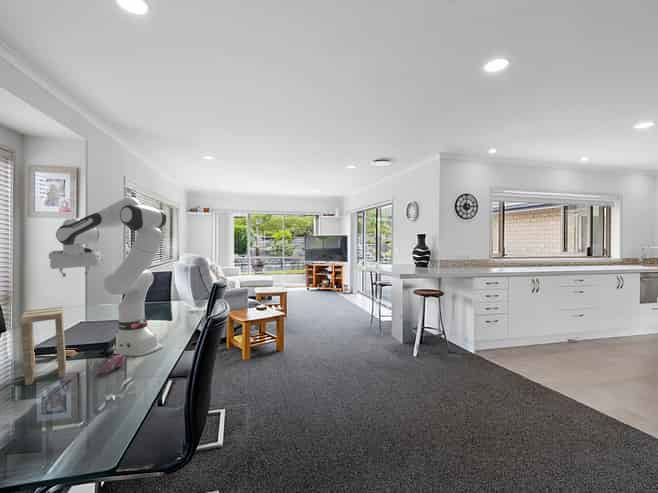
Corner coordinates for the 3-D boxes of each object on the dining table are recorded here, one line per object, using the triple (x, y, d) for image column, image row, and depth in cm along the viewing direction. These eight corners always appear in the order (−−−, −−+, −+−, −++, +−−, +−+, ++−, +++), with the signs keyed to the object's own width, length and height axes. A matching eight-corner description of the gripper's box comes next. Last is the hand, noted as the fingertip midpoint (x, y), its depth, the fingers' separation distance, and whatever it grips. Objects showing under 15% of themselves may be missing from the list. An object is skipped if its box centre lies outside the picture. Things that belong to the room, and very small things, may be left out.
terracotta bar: (28, 357, 157) (28, 350, 157) (34, 354, 160) (34, 348, 160) (72, 357, 156) (72, 351, 155) (77, 354, 159) (77, 348, 158)
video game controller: (105, 377, 135) (111, 363, 135) (96, 372, 136) (102, 357, 135) (124, 367, 145) (130, 354, 144) (116, 362, 146) (121, 349, 145)
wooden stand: (29, 372, 139) (25, 310, 137) (66, 364, 146) (62, 306, 145) (24, 386, 126) (20, 318, 125) (65, 377, 133) (61, 313, 132)
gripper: (47, 251, 167) (49, 278, 168) (97, 249, 180) (98, 274, 180) (48, 250, 172) (50, 277, 173) (96, 248, 185) (98, 273, 185)
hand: (75, 275), depth 177 cm, fingers open, 8 cm apart
